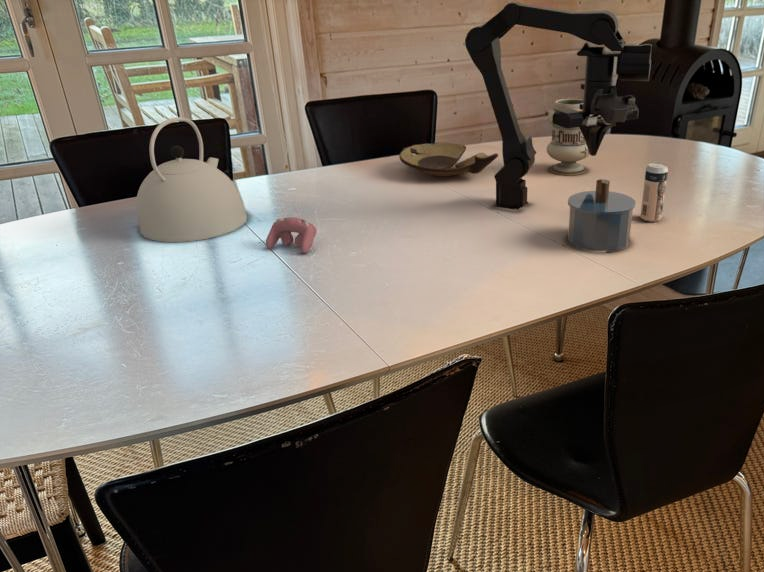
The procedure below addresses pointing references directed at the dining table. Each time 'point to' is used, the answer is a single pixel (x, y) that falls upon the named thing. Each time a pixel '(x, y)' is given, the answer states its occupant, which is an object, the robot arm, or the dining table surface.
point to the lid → (601, 201)
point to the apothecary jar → (567, 142)
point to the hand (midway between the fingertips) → (592, 155)
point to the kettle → (187, 197)
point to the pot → (599, 230)
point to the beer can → (654, 192)
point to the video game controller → (283, 231)
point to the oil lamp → (443, 159)
